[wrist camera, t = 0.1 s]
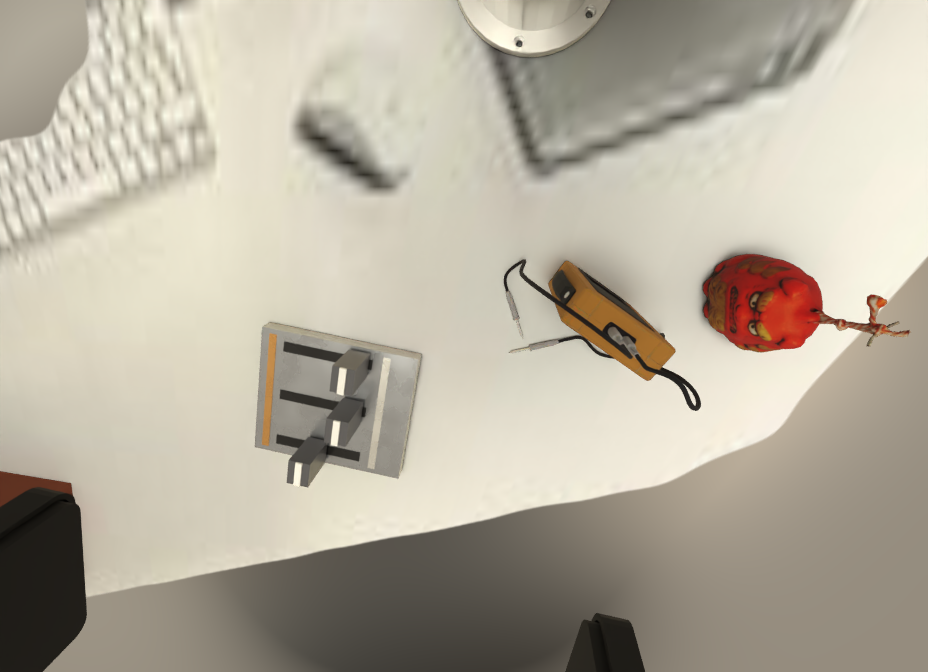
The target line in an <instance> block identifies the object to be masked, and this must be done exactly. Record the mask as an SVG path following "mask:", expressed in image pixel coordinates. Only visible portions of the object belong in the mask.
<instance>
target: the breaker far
mask: <svg viewBox="0 0 928 672" xmlns="http://www.w3.org/2000/svg"><path fill="white" fill-rule="evenodd" d="M326 452H327V443H325V442H324V440H321V439H317V438H312V437H308V438H307V439H306V440H305V441H304V442H303V444H302V445H301V446H300V447H299V448H298V450H297V451H296V452H295V453H294V454H293V456H292V457H291V458H290V459H289V463H288V474H287V483H290V484H293V486H297V487H300V486H304V487H308V486H309V485H310V483H311V482H312V481H313V479H314V478H315V476H316V475H317V473H318V472H319V470H320V469H321V467H322V466H323V465H324V463H325V461H326Z"/></svg>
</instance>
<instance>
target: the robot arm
mask: <svg viewBox="0 0 928 672" xmlns="http://www.w3.org/2000/svg"><path fill="white" fill-rule="evenodd" d="M457 1H458V4H459V6H460V9H461V11H462V13H463V15H464V16H465V18H466V20H467V22H468V23H469V25H470V26H471V27H472V28H473V30H474V31H475V32H476V33H477V34H478V35H479V37H480V38H482V39H483V40H484V41H486V42H487V43H488V44H489V45H491V46H492V47H494V48H496V49H498V50H500V51H502V52H504V53H507V54H511V55H515V56H519V57H540V56H545V55H550V54H553V53H556V52H558V51H561V50H563V49H566V48H567V47H569V46H571V45H572V44H574V43H575V42H577V41H578V40H580V39H581V38H582V37H583V36H584V35H585V34H586V33H587V32H588V31H589V30H591V29H592V28H593V27H594V25H595V24H596V23H597V21H598V20H599V19H600V17H601V16H602V15H603V13H604V12H605V10H606V8H607V6H608V4H609V3H610V1H611V0H457ZM588 12H590V13H591V14H592V17H591V18H589V19H588V18H586V13H588ZM519 41H520V42H522V44H523V45H522V46H521V47H519V48H518V47H517V46H516V43H517V42H519ZM86 611H87V610H86V594H85V577H84V561H83V545H82V529H81V512H80V507H79V506H78V505H77V504H76V502H75V499H74V497H73V496H72V495H71V494H68V493H64V492H60V491H55V490H51V489H46V488H42V487H35V488H31V489H29V490H27V491H25V492H23V493H22V494H20V495H18V496H17V497H15V498H14V499H12V500H10V501H9V502H7V503H6V504H4V505H2V506H1V507H0V672H43V671H44V670H45V669H46V668H47V666H49V665H50V664H51V663H52V661H53V660H54V659H55V658H56V657H57V656H58V655H59V654H60V653H61V652H62V651H63V650H64V649H65V648H66V647H67V646H68V645H69V644H70V643H71V642H72V641H73V640H74V639H75V638H76V637H77V635H78V634H79V633H80V631H81V630H82V628H83V626H84V624H85V621H86V616H87V612H86ZM566 672H645V669H644V666H643V662H642V659H641V655H640V651H639V648H638V644H637V641H636V637H635V633H634V630H633V627H632V624H631V623H630V622H629V620H625V619H621V618H616V617H612V616H608V615H603V614H599V613H596V614H595V615H594V617H593V619H592V621H588V620H583V622H582V624H581V627H580V629H579V633H578V636H577V638H576V641H575V644H574V647H573V650H572V653H571V656H570V660H569V662H568V665H567V668H566Z"/></svg>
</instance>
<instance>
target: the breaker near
mask: <svg viewBox="0 0 928 672" xmlns="http://www.w3.org/2000/svg"><path fill="white" fill-rule="evenodd" d="M369 357H370V353H365V352H360V351H355V350H351V349H349V350H348V351H347V352H346V353H345V354H344V355H343V356H342V357H340V358H339V359H338V360H337V361H336V362H335V363H334V364H333V365H332V372H331V381H330V390H329V391H330V392H335V393H337V394H339V395H349V396H353V394H354V393H355V392H356V390H357V389H358V388H359V387H360V385H361V384H362V383H363V381H364V380H365V379H366V378H367V372H368V365H369Z"/></svg>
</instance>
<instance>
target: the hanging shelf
mask: <svg viewBox="0 0 928 672" xmlns="http://www.w3.org/2000/svg"><path fill="white" fill-rule="evenodd" d="M35 487H42V488H46V489H51V490H55V491H60V492H64V493H68V494H71V495H72V496H73V494H72V487H71V483H67V482H61V481H55V480H49V479H43V478H37V477H31V476H25V475H19V474H13V473H7V472H1V471H0V507H1V506H2V505H4V504H6V503H7V502H9V501H10V500H12V499H14V498H15V497H17V496H18V495H20V494H22V493H23V492H25V491H27V490H29V489H31V488H35Z"/></svg>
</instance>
